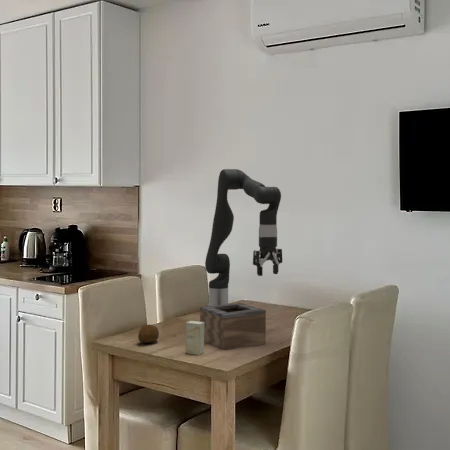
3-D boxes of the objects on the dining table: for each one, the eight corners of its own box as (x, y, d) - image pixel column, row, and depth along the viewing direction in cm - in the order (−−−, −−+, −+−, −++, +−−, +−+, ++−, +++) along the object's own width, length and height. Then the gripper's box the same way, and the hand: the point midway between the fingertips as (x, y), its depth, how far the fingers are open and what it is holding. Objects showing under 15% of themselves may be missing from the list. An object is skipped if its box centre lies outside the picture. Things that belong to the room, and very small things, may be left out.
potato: (162, 339, 266) (162, 321, 265) (153, 347, 254) (153, 328, 253) (144, 338, 267) (144, 321, 267) (134, 346, 255) (134, 327, 255)
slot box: (200, 339, 266) (200, 306, 265) (239, 334, 276) (240, 302, 275) (224, 349, 249) (224, 315, 248) (265, 343, 259) (265, 310, 258)
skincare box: (185, 353, 244) (185, 322, 243) (190, 350, 248) (190, 320, 247) (199, 355, 241) (199, 323, 240) (204, 352, 245) (204, 321, 245)
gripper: (274, 234, 263) (274, 272, 264) (248, 235, 255) (248, 275, 256) (286, 235, 258) (286, 274, 259) (261, 236, 249) (260, 277, 250)
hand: (267, 274), depth 257 cm, fingers open, 8 cm apart
